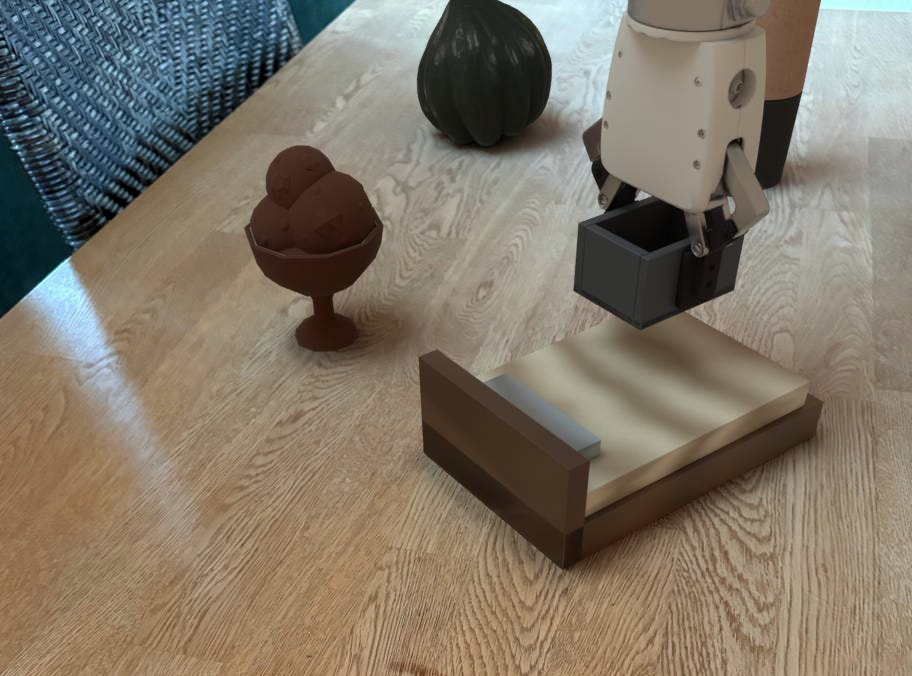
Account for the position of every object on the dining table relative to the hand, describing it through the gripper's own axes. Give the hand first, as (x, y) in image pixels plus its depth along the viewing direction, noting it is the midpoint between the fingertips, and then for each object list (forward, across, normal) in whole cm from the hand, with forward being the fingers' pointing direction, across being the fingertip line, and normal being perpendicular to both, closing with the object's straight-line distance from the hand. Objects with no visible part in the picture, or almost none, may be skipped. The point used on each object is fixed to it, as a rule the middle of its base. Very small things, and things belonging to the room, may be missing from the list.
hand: (655, 280), depth 72 cm
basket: (+1, 0, 0) cm, 1 cm away
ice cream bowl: (+10, +23, +14) cm, 29 cm away
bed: (+10, -4, +5) cm, 12 cm away
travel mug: (+10, +23, -37) cm, 45 cm away
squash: (+10, +50, -23) cm, 56 cm away
